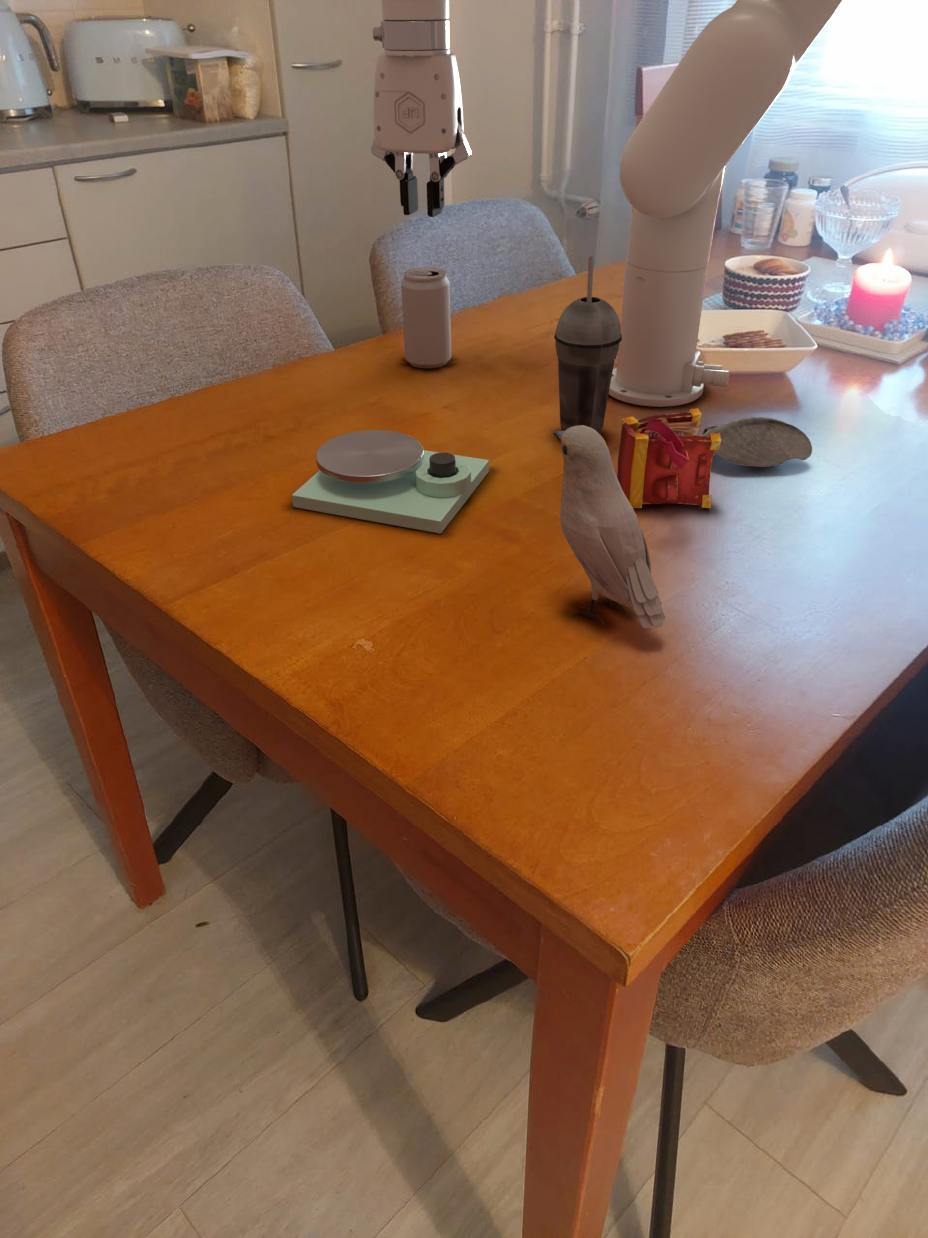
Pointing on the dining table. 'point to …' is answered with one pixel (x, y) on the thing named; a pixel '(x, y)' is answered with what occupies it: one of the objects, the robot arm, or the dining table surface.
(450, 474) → the button
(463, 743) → the dining table surface
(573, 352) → the beverage cup
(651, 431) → the book monster
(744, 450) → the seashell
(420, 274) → the beverage can
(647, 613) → the bird
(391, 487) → the scale
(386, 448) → the scale pan
